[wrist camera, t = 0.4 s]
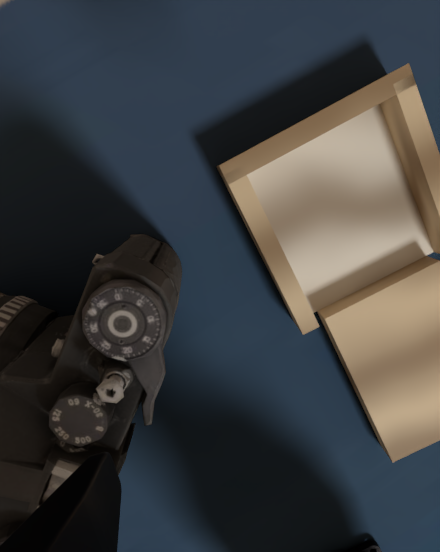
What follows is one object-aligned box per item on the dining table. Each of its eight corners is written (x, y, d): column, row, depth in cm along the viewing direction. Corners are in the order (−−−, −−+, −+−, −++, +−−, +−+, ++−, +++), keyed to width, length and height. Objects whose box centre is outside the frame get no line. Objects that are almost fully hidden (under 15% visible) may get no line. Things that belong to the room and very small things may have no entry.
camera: (4, 174, 20) (-171, 173, 10) (200, 252, 22) (206, 314, 12) (-62, 404, 23) (-247, 570, 13) (115, 456, 25) (66, 637, 15)
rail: (499, 389, 25) (524, 407, 23) (361, 456, 26) (374, 479, 24) (387, 74, 20) (409, 63, 18) (216, 166, 20) (218, 165, 18)
